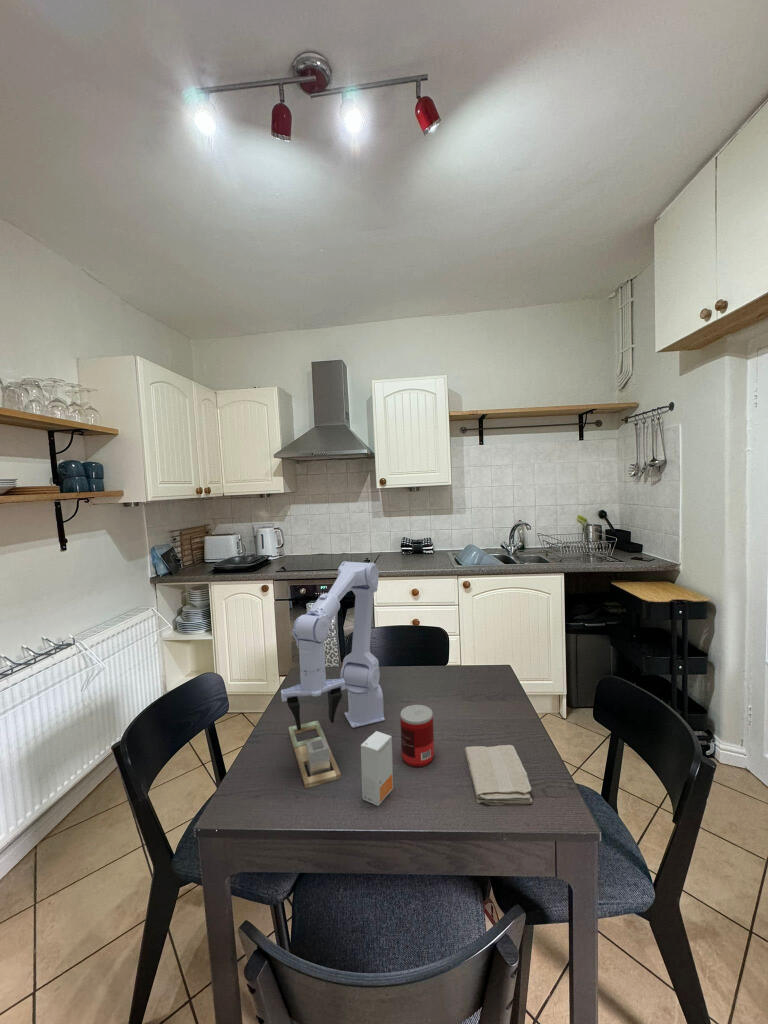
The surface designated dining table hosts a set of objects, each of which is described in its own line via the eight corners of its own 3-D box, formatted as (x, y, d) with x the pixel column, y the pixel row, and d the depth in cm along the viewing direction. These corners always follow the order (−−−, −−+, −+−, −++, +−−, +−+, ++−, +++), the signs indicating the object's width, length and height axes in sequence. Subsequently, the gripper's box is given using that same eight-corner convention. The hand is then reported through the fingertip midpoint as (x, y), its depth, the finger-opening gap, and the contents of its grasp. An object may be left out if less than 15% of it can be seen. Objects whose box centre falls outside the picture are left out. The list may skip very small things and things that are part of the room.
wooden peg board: (318, 724, 120) (317, 720, 120) (340, 778, 98) (340, 773, 98) (288, 731, 117) (288, 726, 117) (305, 788, 95) (305, 783, 95)
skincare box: (379, 807, 89) (376, 750, 88) (361, 800, 91) (359, 744, 90) (394, 789, 94) (392, 735, 93) (377, 782, 96) (375, 730, 95)
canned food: (437, 750, 107) (435, 706, 106) (429, 770, 99) (428, 724, 99) (407, 744, 109) (405, 702, 109) (397, 764, 102) (396, 719, 101)
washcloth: (477, 808, 88) (477, 794, 88) (462, 753, 106) (462, 741, 106) (536, 807, 88) (536, 792, 87) (512, 752, 106) (511, 740, 105)
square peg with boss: (325, 762, 104) (324, 736, 103) (330, 773, 100) (329, 747, 99) (307, 766, 102) (305, 741, 102) (310, 778, 98) (309, 751, 98)
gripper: (282, 679, 94) (285, 740, 95) (347, 668, 99) (350, 725, 100) (278, 667, 101) (281, 724, 101) (339, 656, 106) (342, 711, 106)
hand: (315, 724), depth 101 cm, fingers open, 7 cm apart
